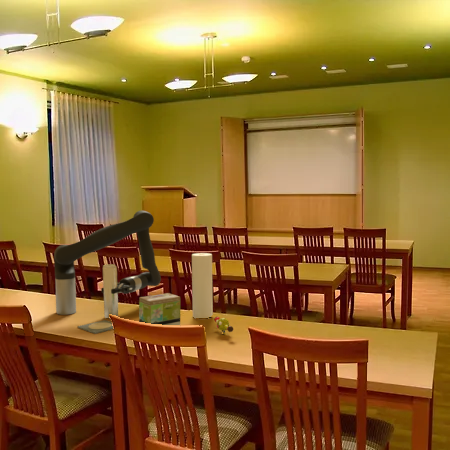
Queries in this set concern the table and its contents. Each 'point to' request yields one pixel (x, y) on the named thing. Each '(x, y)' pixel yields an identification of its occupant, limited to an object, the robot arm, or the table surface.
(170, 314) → the tea box
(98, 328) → the plate
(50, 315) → the table surface
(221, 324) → the toy figure
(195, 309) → the cylinder container
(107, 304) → the tall cream cylinder
